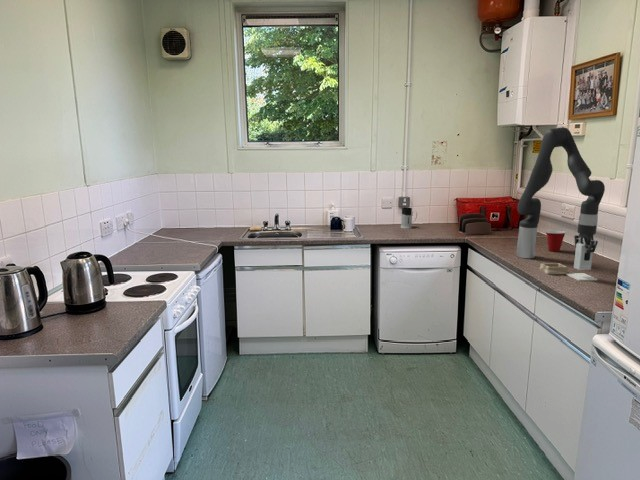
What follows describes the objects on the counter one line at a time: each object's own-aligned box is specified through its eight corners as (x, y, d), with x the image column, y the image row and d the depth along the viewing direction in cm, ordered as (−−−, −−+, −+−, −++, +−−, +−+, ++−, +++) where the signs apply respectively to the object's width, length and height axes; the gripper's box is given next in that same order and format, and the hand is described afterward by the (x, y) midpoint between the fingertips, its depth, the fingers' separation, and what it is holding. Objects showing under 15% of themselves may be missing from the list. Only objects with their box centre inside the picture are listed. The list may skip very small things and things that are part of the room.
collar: (539, 270, 223) (540, 263, 222) (558, 269, 223) (558, 263, 222) (547, 274, 215) (548, 267, 215) (567, 273, 216) (567, 267, 215)
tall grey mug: (405, 225, 348) (406, 207, 345) (419, 228, 338) (420, 208, 335) (398, 227, 343) (398, 208, 340) (412, 229, 332) (413, 210, 329)
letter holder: (458, 232, 321) (459, 213, 318) (482, 231, 325) (484, 212, 322) (465, 235, 311) (466, 215, 308) (490, 234, 315) (492, 214, 312)
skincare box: (584, 267, 211) (587, 242, 209) (591, 269, 207) (594, 244, 205) (572, 267, 211) (575, 243, 208) (579, 270, 206) (582, 245, 204)
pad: (565, 274, 214) (566, 273, 214) (583, 274, 215) (583, 273, 215) (578, 280, 205) (578, 279, 205) (597, 280, 205) (597, 279, 205)
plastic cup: (552, 248, 270) (554, 228, 268) (568, 251, 260) (570, 231, 258) (539, 249, 266) (541, 230, 264) (554, 253, 257) (556, 233, 254)
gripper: (570, 221, 211) (566, 255, 215) (589, 226, 197) (585, 263, 201) (585, 220, 212) (581, 255, 215) (606, 226, 198) (601, 262, 201)
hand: (583, 258), depth 208 cm, fingers closed on skincare box, 4 cm apart
